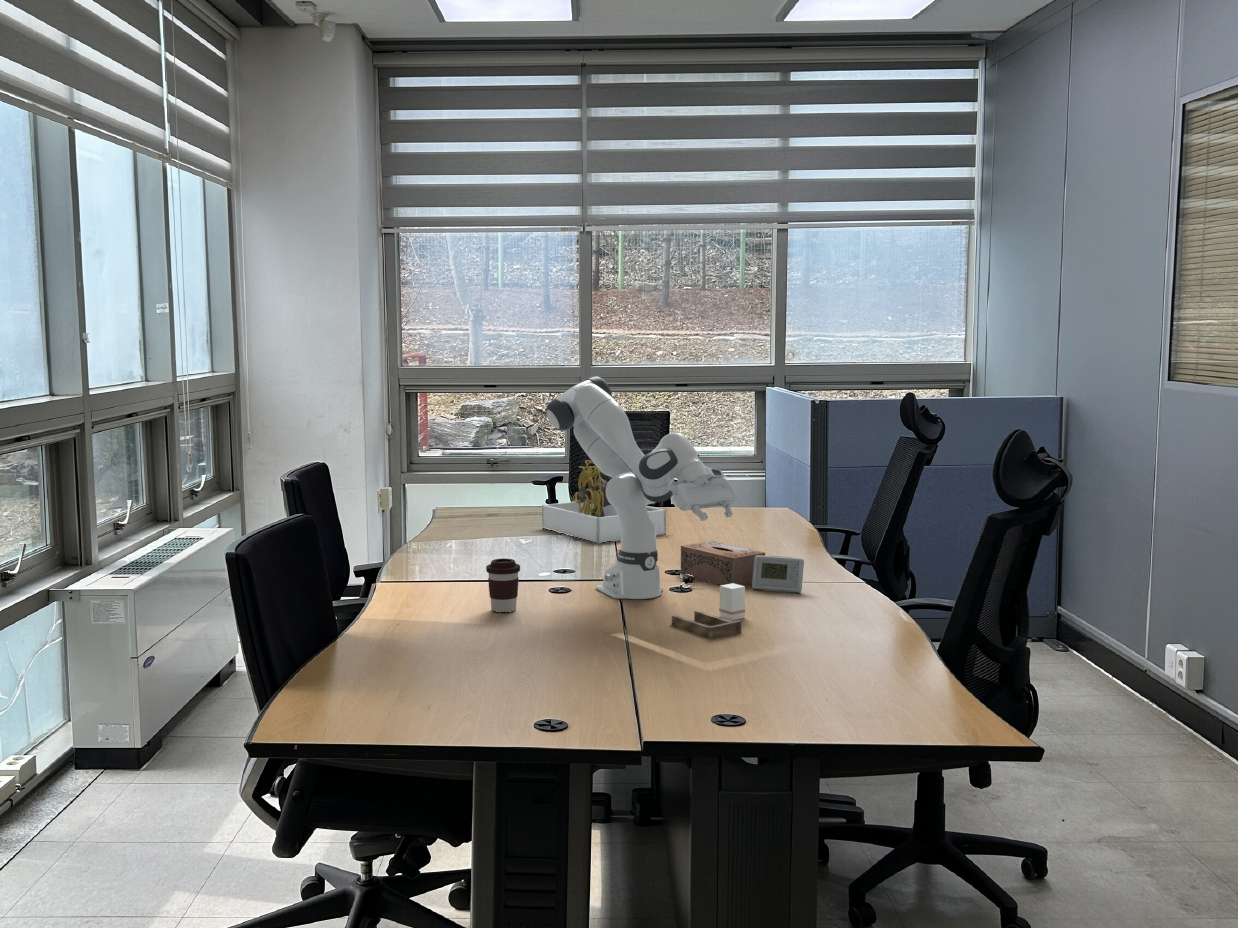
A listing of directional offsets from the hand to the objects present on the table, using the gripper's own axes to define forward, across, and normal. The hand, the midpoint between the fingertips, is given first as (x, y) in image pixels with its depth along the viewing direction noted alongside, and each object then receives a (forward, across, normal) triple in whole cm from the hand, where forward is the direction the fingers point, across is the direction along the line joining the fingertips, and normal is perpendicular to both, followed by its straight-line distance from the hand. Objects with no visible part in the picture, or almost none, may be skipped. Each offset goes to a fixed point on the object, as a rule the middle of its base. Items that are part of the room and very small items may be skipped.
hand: (717, 517), depth 307 cm
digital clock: (+10, +39, +32) cm, 51 cm away
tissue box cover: (-6, +37, +48) cm, 61 cm away
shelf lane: (+28, -13, +14) cm, 34 cm away
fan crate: (-72, +55, +114) cm, 146 cm away
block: (+24, +1, +17) cm, 29 cm away
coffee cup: (-11, -44, +52) cm, 69 cm away
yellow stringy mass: (-70, +59, +112) cm, 144 cm away
